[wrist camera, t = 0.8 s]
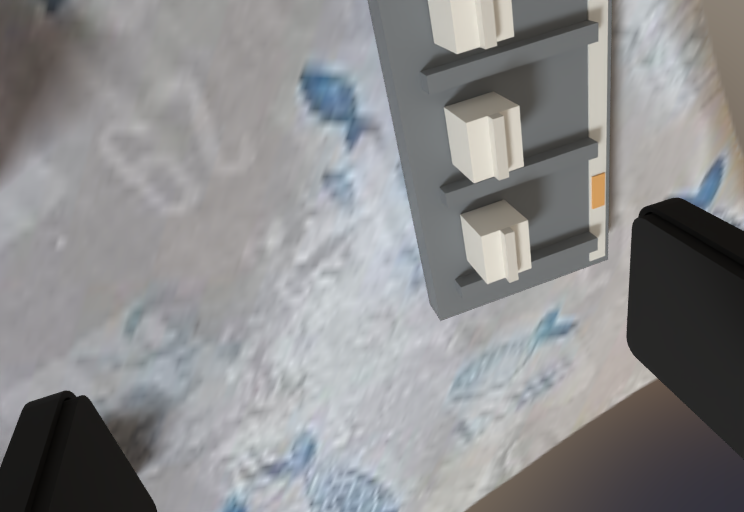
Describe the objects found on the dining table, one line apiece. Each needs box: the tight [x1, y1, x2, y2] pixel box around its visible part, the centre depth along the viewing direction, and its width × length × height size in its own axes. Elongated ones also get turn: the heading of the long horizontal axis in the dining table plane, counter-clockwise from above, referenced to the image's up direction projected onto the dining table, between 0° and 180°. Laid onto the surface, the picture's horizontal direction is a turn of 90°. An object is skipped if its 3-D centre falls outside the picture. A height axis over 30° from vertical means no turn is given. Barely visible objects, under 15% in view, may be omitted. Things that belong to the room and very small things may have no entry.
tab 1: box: [428, 0, 514, 54], centre depth 27 cm, size 4×3×4 cm
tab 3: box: [460, 200, 532, 284], centre depth 35 cm, size 4×3×4 cm
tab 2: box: [444, 91, 524, 183], centre depth 31 cm, size 4×3×4 cm
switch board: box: [368, 0, 612, 321], centre depth 34 cm, size 26×13×3 cm, turn 13°
